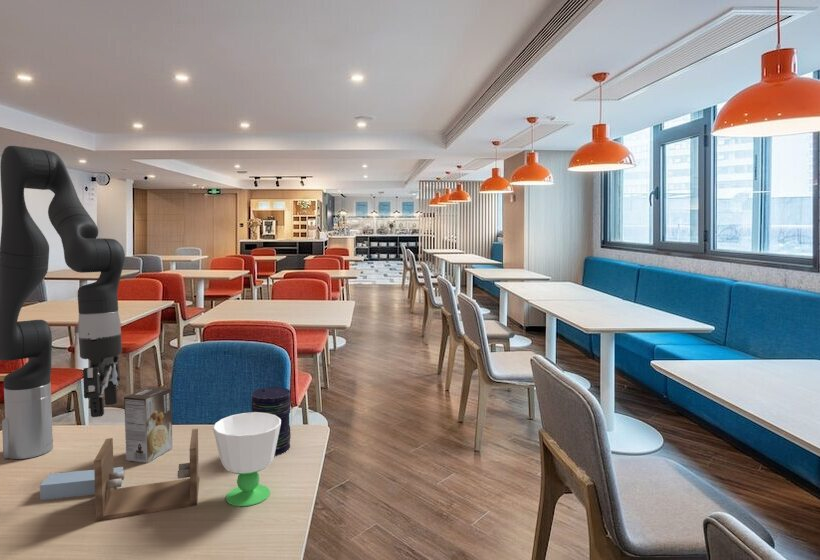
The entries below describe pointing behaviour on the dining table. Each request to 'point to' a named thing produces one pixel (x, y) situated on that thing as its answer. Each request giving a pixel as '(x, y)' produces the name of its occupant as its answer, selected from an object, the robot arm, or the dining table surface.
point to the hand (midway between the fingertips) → (104, 410)
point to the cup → (247, 452)
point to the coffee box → (148, 424)
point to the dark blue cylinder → (275, 411)
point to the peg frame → (142, 487)
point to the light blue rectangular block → (70, 484)
